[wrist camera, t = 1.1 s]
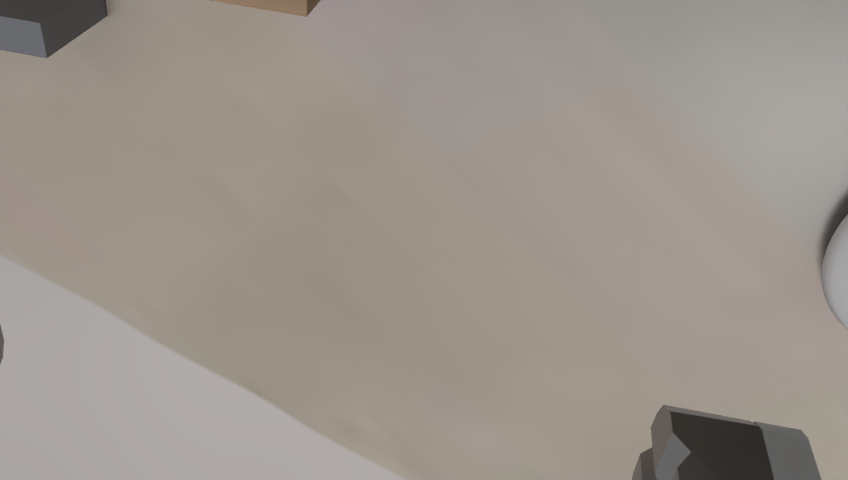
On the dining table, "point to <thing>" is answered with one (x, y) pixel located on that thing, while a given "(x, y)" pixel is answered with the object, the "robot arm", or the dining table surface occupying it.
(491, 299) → the dining table surface
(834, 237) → the flower in vase
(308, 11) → the wooden block
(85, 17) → the bay
